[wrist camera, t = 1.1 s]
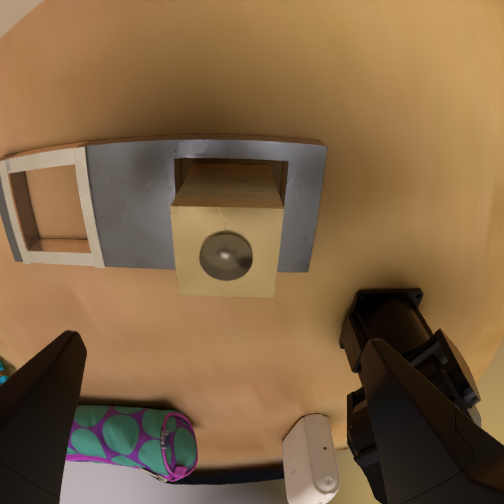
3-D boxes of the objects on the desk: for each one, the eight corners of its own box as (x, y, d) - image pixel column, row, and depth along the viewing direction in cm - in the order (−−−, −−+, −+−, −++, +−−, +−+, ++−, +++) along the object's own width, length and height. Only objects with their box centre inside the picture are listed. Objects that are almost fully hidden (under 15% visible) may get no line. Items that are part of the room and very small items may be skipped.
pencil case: (174, 393, 29) (165, 471, 21) (201, 426, 34) (197, 490, 26) (47, 389, 31) (27, 444, 22) (81, 420, 35) (68, 470, 27)
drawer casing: (319, 140, 16) (328, 146, 14) (302, 257, 20) (308, 274, 19) (4, 155, 15) (-12, 164, 13) (26, 249, 19) (14, 262, 17)
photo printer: (300, 412, 32) (313, 503, 22) (332, 412, 33) (349, 497, 22) (277, 442, 37) (284, 515, 27) (304, 442, 38) (314, 512, 27)
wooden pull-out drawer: (269, 165, 17) (284, 211, 11) (264, 232, 19) (274, 301, 13) (194, 163, 17) (168, 208, 11) (195, 230, 19) (178, 298, 13)
